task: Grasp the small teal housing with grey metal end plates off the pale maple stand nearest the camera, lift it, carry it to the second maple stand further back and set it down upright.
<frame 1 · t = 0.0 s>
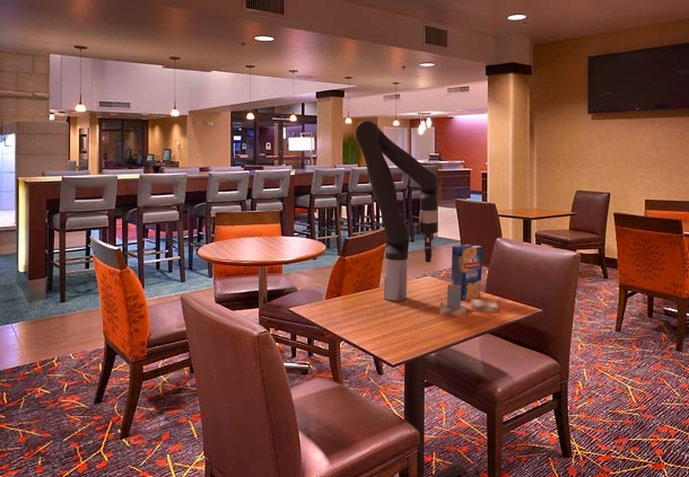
hand: (428, 259, 227), 17 cm above the table, tool pointing down, fingers open, 8 cm apart
stand b: (483, 307, 219), on the table
stand a: (453, 311, 214), on the table
housing: (453, 306, 213), point 2 cm above the table, touching stand a
blue food carton: (465, 297, 235), on the table
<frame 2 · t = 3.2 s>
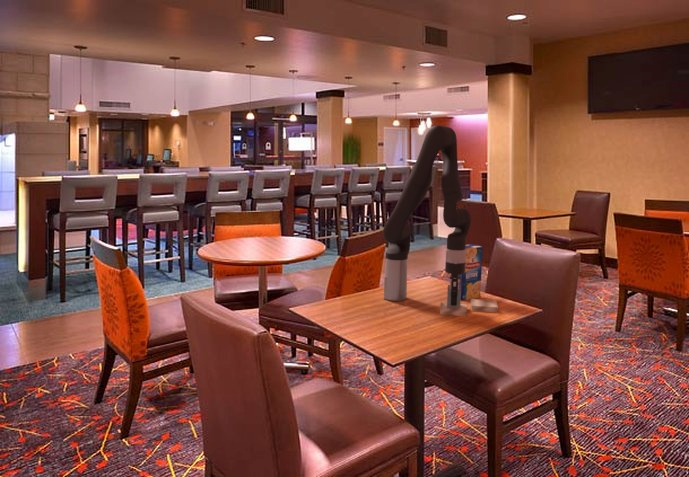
hand: (453, 303, 213), 3 cm above the table, tool pointing down, fingers closed on housing, 5 cm apart
housing: (453, 306, 213), point 2 cm above the table, touching gripper, stand a
everything else where it was.
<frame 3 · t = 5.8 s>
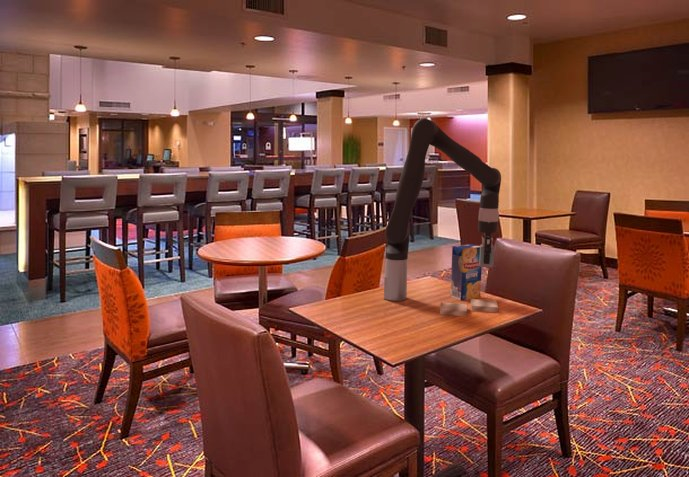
hand: (486, 262, 216), 19 cm above the table, tool pointing down, fingers closed on housing, 5 cm apart
housing: (486, 265, 216), point 17 cm above the table, touching gripper
everything else where it was.
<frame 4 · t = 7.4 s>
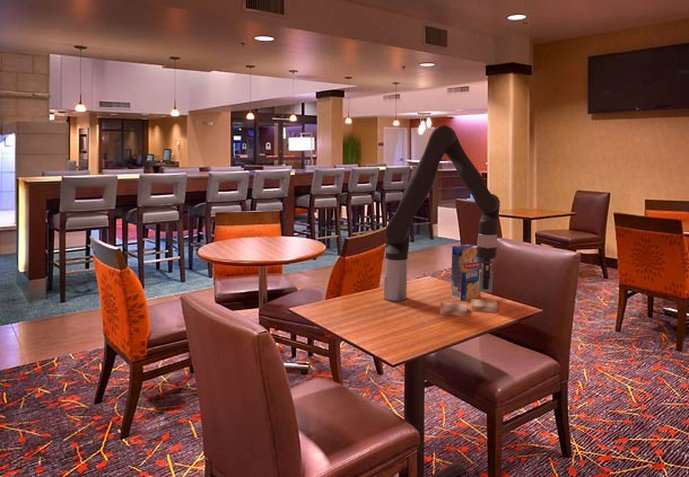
hand: (485, 287, 218), 9 cm above the table, tool pointing down, fingers closed on housing, 5 cm apart
housing: (485, 290, 218), point 7 cm above the table, touching gripper
everything else where it was.
when the fingers open (5 cm above the table, at t = 8.7 s): housing drops 1 cm, resting on stand b.
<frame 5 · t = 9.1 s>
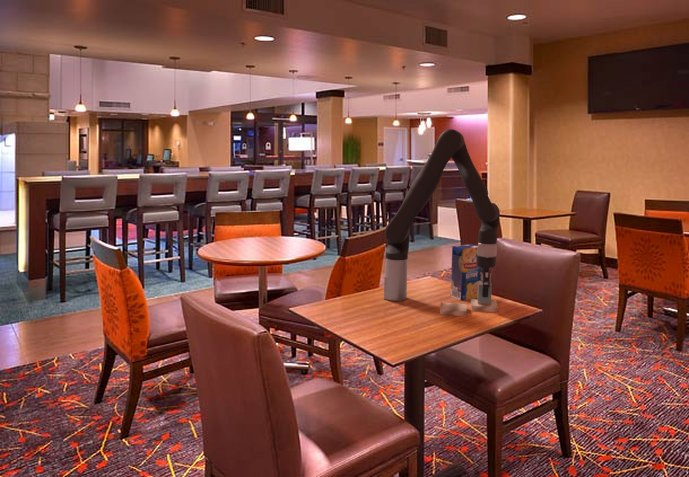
hand: (484, 294, 218), 6 cm above the table, tool pointing down, fingers open, 8 cm apart
housing: (484, 302, 219), point 2 cm above the table, touching stand b
everything else where it was.
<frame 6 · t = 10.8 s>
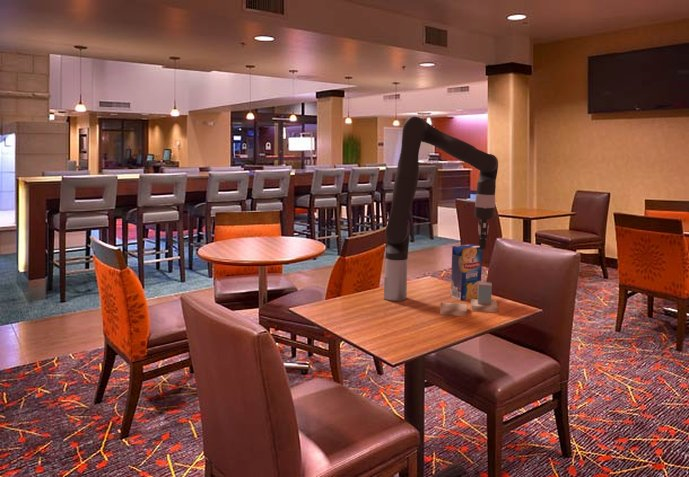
hand: (481, 246, 216), 25 cm above the table, tool pointing down, fingers open, 8 cm apart
nothing on the table moved.
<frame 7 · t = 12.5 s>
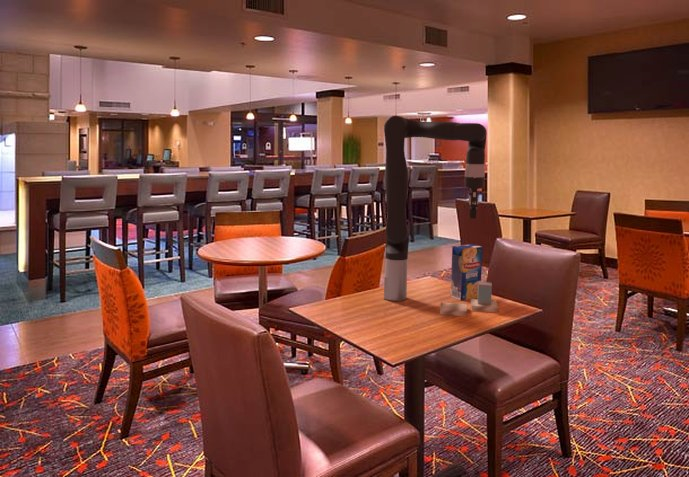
hand: (472, 217, 216), 36 cm above the table, tool pointing down, fingers open, 8 cm apart
nothing on the table moved.
at the end: housing inside the target area on the stand b (0.1 cm from its centre), point 2.0 cm above the stand b's base; housing tilted 0°; the gripper is holding nothing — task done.
